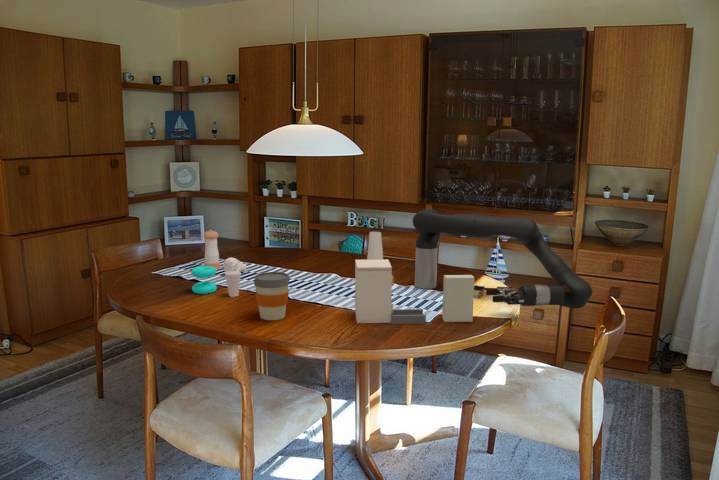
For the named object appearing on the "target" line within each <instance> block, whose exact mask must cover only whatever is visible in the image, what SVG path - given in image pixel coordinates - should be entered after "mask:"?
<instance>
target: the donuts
mask: <svg viewBox="0 0 719 480" xmlns="http://www.w3.org/2000/svg"><path fill="white" fill-rule="evenodd" d="M190 272H191V273H190V274H191V276H192V277H194V278H195V279H196V278H197V279H208V278H211V277H213V276H215V275H216V273H217V270H216V269H215V268H214V267H211V266H204V265H201V266H197V267H194V268H192V269H191V271H190ZM217 289H218V286H217V284H216V283H214V282H213V281H199V282H196V283H195V284H193V285H192V287H191V291H192V292H193V293H194V294H198V295H207V294H208V293H209V294H212V293H214V292H216V291H217Z"/></svg>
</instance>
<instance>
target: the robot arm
mask: <svg viewBox="0 0 719 480" xmlns="http://www.w3.org/2000/svg"><path fill="white" fill-rule="evenodd" d="M412 225H413V227H414V229H415V230H417V231H419V234H418V237H417V239H416V240H415V265H414V271H415V273H414V288H415V287H416V288H418V289H424V290H428V289H429V290H431V289H435V288H437V278H438V276H437V274H438V245H439V241H440V235H441V233H443V234H450V235H455V236H460V237H461V236H462V237H468V238H475V239H477V238H479V239H484V238H490V237H495V236H503V237H510V238H513V239H514V238H515V239H516V240H517V242H518V243H520V244H522V246H524V247H525V248H526V249H527V250H528V251H529V252H531V253H532V254H533V255H534V257H536V259H538V261H539V262H540V264H542V266H543V268H544V269H545V270H546V272H547V273H548V274H549V275H550V277H551V278H552V279H553V280H554V281H555V283H556V284H557V285H556V284H554V285H553V284H552V285H549V284H547V285H546V284H521V285H520V286H519V289H516V288H514V287H513V286H496V288H487V289H486V291H485V295H486V296H492V299H491V300H492V302H493V303H504V304H507V305H508V306H510V305H511V306H512V305H521V306H522V307H544V306H557V305H558V306H561V307H565V308H568V309H569V308H570V309H581V308H584V307H585V306H586V305H587V303H588V302H589V301H590V298H591V297H592V296H593V287H592V286H591V285H590V283H588V281H587V280H585V279H584V278H582V277H581V276H580V275H578V274H576V273H575V272H574V271H573V270H572V269H571V268H570V266H568V264H567V263H566V261H564V260H563V259H562V258H561V257H560V256H559V254H557V253H556V252H555V251H554V250H553V249H552V248H551V247H550V245H549V244H548V243H547V242H546V240H545V238H544V236H543V234H542V233H541V231H540V228H539V226H538V224H537V223H536V221H535V220H534V219H532V218H529V217H503V216H501V217H500V216H492V215H485V214H484V215H483V214H474V213H456V214H441V213H440V214H439V212H438V210H437V211H436V210H435V209H433V208H428V209H427V208H426V209H423V210H420V211H418V212H416V213H415V215H414V216H413V217H412ZM566 286H567V287H568V288H569V289H570V290H569V291H566V290H565V288H564V287H566Z"/></svg>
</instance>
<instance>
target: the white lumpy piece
mask: <svg viewBox="0 0 719 480" xmlns="http://www.w3.org/2000/svg"><path fill="white" fill-rule="evenodd" d="M231 262H233V271H240V272H244V273H245V272H247V271H246V270H247V265H246V264H245V263H243V262H241V261H240V260H239V259H237V258H235V257H227V258H226V259H225V260H224V262H223V264H222V267H223V270H224V273H225V272H228V271H231Z"/></svg>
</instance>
